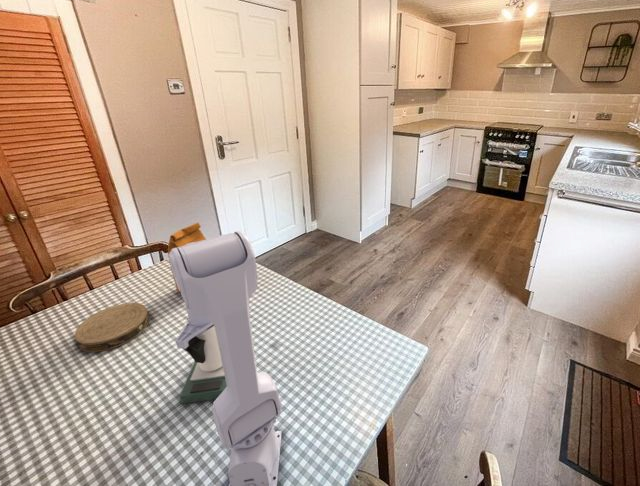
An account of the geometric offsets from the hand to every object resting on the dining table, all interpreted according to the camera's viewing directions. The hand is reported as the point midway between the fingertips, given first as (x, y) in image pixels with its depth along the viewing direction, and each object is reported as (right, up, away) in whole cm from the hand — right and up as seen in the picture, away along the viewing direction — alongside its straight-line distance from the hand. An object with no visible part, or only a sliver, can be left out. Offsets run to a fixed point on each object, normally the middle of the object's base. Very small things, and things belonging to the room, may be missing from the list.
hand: (211, 348), depth 71 cm
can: (0, -4, +2) cm, 4 cm away
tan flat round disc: (-35, -2, +15) cm, 38 cm away
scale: (0, -7, +1) cm, 7 cm away
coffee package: (-22, +6, +35) cm, 41 cm away
